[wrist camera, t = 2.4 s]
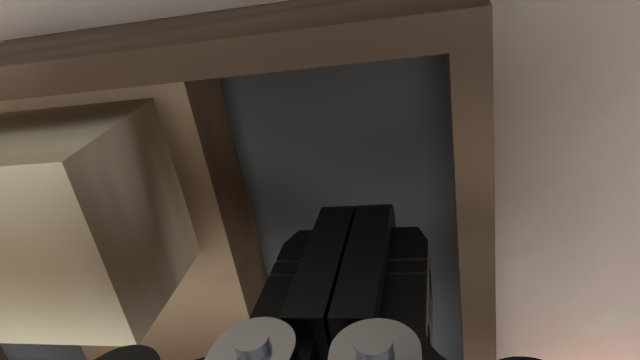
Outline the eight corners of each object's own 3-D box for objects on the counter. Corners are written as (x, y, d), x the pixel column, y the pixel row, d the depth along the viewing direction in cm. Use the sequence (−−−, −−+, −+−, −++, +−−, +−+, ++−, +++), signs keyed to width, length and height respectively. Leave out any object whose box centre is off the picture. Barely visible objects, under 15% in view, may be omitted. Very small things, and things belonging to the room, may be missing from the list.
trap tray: (-167, 64, 19) (-325, 107, 15) (475, -26, 14) (491, 5, 10) (8, 370, 25) (-70, 455, 21) (485, 389, 20) (497, 507, 16)
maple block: (-1, 112, 15) (-129, 175, 12) (153, 97, 14) (61, 162, 11) (62, 254, 17) (-29, 342, 14) (200, 251, 16) (137, 346, 13)
